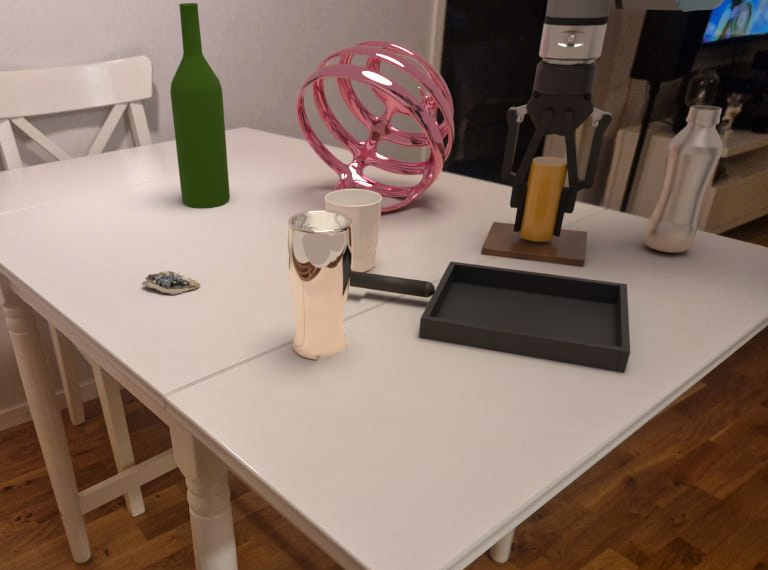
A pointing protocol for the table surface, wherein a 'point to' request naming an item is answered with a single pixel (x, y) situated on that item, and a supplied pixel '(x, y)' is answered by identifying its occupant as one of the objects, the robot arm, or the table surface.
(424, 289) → the pan handle
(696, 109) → the plastic bottle
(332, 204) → the white cup
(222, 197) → the wine bottle
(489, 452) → the table surface
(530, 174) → the canister
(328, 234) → the beer glass
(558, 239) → the board
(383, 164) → the spiral basket
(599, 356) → the pan
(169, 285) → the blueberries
